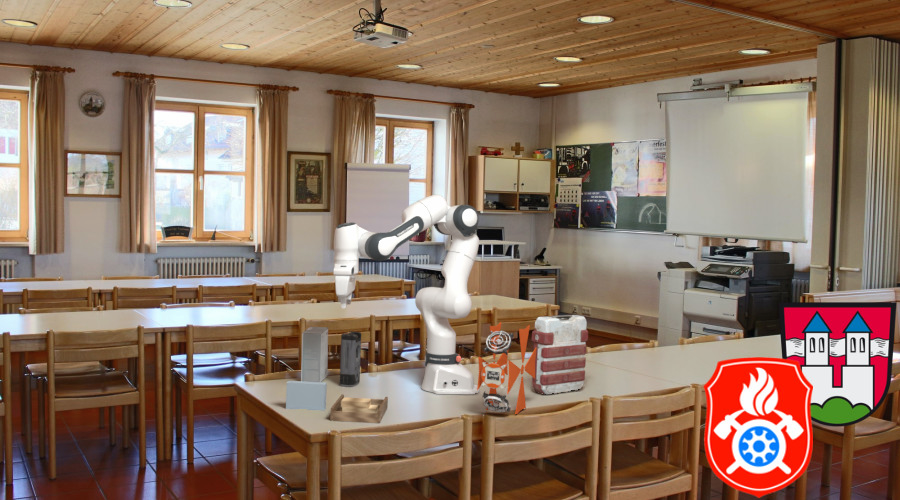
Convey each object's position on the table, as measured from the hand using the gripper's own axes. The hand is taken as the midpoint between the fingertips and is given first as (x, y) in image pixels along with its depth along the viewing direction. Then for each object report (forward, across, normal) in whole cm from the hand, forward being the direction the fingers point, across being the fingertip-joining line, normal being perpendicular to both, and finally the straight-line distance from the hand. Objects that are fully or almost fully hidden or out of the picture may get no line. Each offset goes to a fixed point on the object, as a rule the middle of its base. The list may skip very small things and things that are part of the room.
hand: (346, 306), depth 285 cm
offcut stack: (+33, +28, +9) cm, 44 cm away
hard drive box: (+34, -24, -17) cm, 45 cm away
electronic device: (+34, -19, -2) cm, 39 cm away
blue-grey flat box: (+32, +20, -10) cm, 40 cm away
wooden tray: (+33, +24, +9) cm, 42 cm away
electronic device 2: (+34, +9, +58) cm, 68 cm away
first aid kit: (+36, -24, +79) cm, 90 cm away
